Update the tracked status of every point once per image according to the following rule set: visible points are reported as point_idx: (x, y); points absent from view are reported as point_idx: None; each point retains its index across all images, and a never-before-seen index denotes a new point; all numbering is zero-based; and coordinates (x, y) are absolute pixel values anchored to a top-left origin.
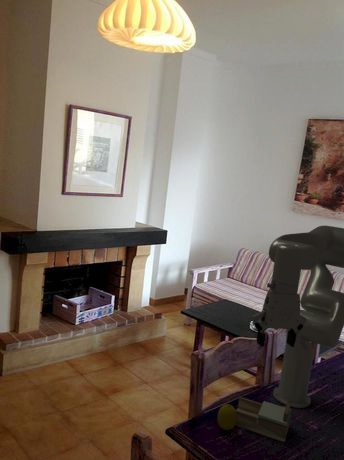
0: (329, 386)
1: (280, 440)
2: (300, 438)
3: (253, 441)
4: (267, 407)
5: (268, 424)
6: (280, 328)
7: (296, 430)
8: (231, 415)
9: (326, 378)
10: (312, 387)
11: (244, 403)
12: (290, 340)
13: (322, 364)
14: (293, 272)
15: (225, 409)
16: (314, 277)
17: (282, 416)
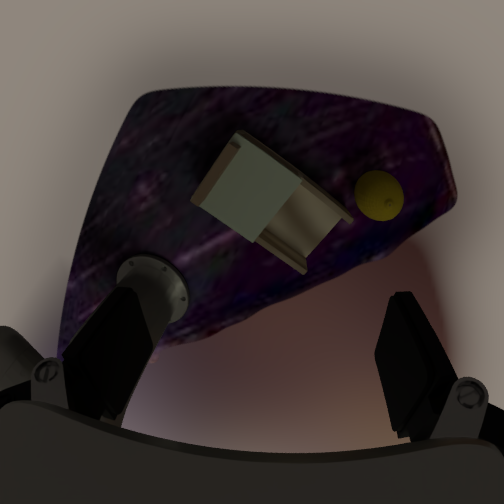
0: (76, 313)
1: (250, 135)
2: (195, 144)
3: (320, 139)
4: (256, 211)
5: (277, 158)
6: (272, 455)
7: (190, 173)
8: (385, 178)
9: None
10: None
11: (294, 257)
12: (125, 336)
13: None
14: None
15: (399, 195)
16: None
17: (232, 166)
